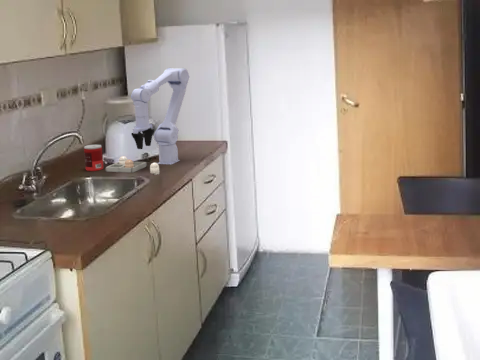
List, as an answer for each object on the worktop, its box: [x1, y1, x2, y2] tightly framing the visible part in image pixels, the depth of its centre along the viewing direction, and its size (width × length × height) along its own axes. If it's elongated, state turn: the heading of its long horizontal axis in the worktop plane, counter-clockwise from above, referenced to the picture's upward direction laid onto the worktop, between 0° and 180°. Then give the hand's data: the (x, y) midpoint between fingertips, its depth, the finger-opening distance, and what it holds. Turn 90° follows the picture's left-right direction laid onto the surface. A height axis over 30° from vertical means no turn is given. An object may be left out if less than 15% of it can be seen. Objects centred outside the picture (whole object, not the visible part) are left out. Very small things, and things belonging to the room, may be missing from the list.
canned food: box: [83, 144, 104, 172], centre depth 299 cm, size 8×8×11 cm
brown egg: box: [125, 158, 134, 168], centre depth 294 cm, size 4×4×5 cm
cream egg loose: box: [149, 162, 160, 176], centre depth 289 cm, size 4×4×5 cm
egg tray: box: [105, 161, 148, 174], centre depth 298 cm, size 13×13×2 cm
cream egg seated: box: [118, 155, 129, 164], centre depth 302 cm, size 4×4×5 cm
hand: (144, 147), depth 296 cm, fingers open, 7 cm apart
